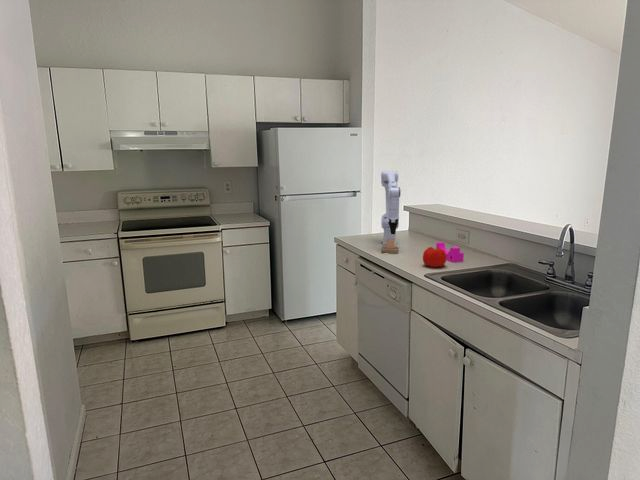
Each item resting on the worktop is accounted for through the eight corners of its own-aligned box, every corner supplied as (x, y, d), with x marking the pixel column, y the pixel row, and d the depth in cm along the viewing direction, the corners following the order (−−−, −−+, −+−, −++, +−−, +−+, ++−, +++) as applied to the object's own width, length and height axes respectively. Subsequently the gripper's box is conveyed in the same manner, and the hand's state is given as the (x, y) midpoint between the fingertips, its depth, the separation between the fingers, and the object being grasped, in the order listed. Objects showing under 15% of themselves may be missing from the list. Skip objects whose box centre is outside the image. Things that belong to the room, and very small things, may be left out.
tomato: (450, 267, 219) (451, 249, 217) (429, 270, 215) (430, 251, 213) (437, 262, 229) (438, 245, 227) (417, 264, 225) (418, 247, 223)
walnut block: (382, 251, 256) (382, 246, 255) (398, 251, 254) (398, 246, 254) (381, 254, 247) (381, 249, 247) (398, 255, 246) (398, 250, 245)
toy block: (463, 261, 230) (464, 247, 229) (453, 262, 228) (453, 248, 227) (445, 255, 244) (446, 241, 243) (435, 256, 242) (436, 242, 241)
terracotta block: (386, 246, 253) (387, 238, 252) (394, 247, 252) (395, 238, 251) (386, 248, 249) (386, 239, 248) (394, 249, 248) (394, 240, 247)
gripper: (387, 207, 258) (386, 230, 261) (386, 210, 244) (385, 235, 247) (399, 207, 257) (398, 230, 259) (399, 211, 243) (398, 235, 246)
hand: (393, 232), depth 253 cm, fingers open, 7 cm apart
